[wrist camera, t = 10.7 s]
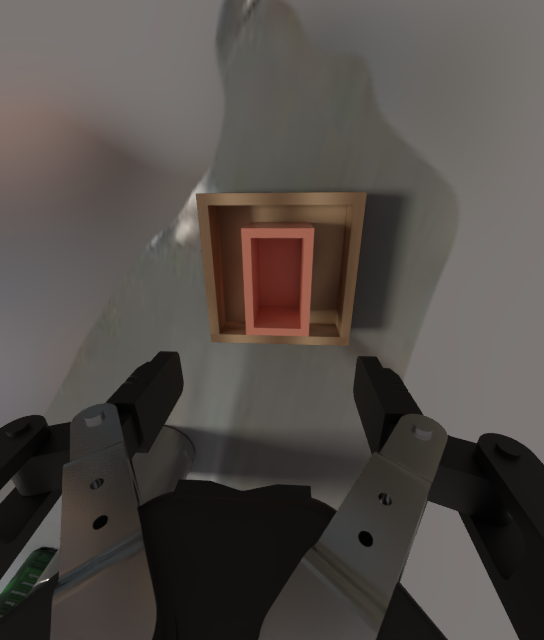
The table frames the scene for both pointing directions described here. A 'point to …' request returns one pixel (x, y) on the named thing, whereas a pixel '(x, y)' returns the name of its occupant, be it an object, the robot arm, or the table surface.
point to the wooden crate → (327, 268)
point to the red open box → (277, 277)
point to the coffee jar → (24, 579)
